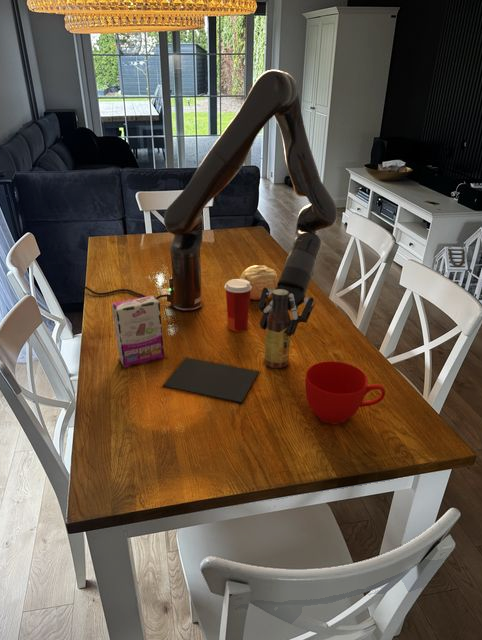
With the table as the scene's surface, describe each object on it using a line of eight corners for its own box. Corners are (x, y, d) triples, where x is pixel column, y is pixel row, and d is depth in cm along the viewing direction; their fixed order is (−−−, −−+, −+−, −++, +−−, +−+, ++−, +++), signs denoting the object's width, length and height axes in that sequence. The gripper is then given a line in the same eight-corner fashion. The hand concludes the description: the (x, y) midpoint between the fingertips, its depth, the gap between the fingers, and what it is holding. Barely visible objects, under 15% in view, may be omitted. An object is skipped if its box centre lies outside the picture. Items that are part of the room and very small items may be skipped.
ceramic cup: (382, 439, 101) (390, 399, 96) (300, 429, 104) (304, 390, 99) (377, 402, 112) (384, 365, 108) (303, 394, 115) (307, 358, 110)
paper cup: (253, 323, 147) (255, 280, 140) (246, 334, 141) (247, 289, 134) (229, 319, 149) (229, 276, 142) (220, 330, 143) (220, 286, 136)
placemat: (162, 386, 117) (162, 385, 117) (186, 358, 129) (185, 357, 129) (241, 403, 112) (241, 402, 112) (258, 372, 123) (258, 371, 123)
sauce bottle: (286, 370, 124) (292, 299, 114) (262, 368, 125) (265, 296, 115) (289, 358, 130) (294, 288, 120) (266, 355, 131) (269, 286, 121)
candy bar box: (158, 349, 133) (154, 294, 125) (164, 358, 129) (160, 301, 121) (118, 359, 128) (110, 302, 120) (123, 368, 125) (116, 310, 116)
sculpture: (249, 305, 158) (250, 274, 153) (234, 292, 168) (234, 262, 162) (280, 300, 162) (282, 269, 157) (263, 287, 172) (265, 257, 166)
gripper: (267, 260, 124) (245, 320, 121) (321, 270, 118) (299, 333, 115) (275, 273, 131) (254, 330, 128) (326, 283, 125) (305, 343, 122)
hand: (275, 331), depth 121 cm, fingers open, 6 cm apart
